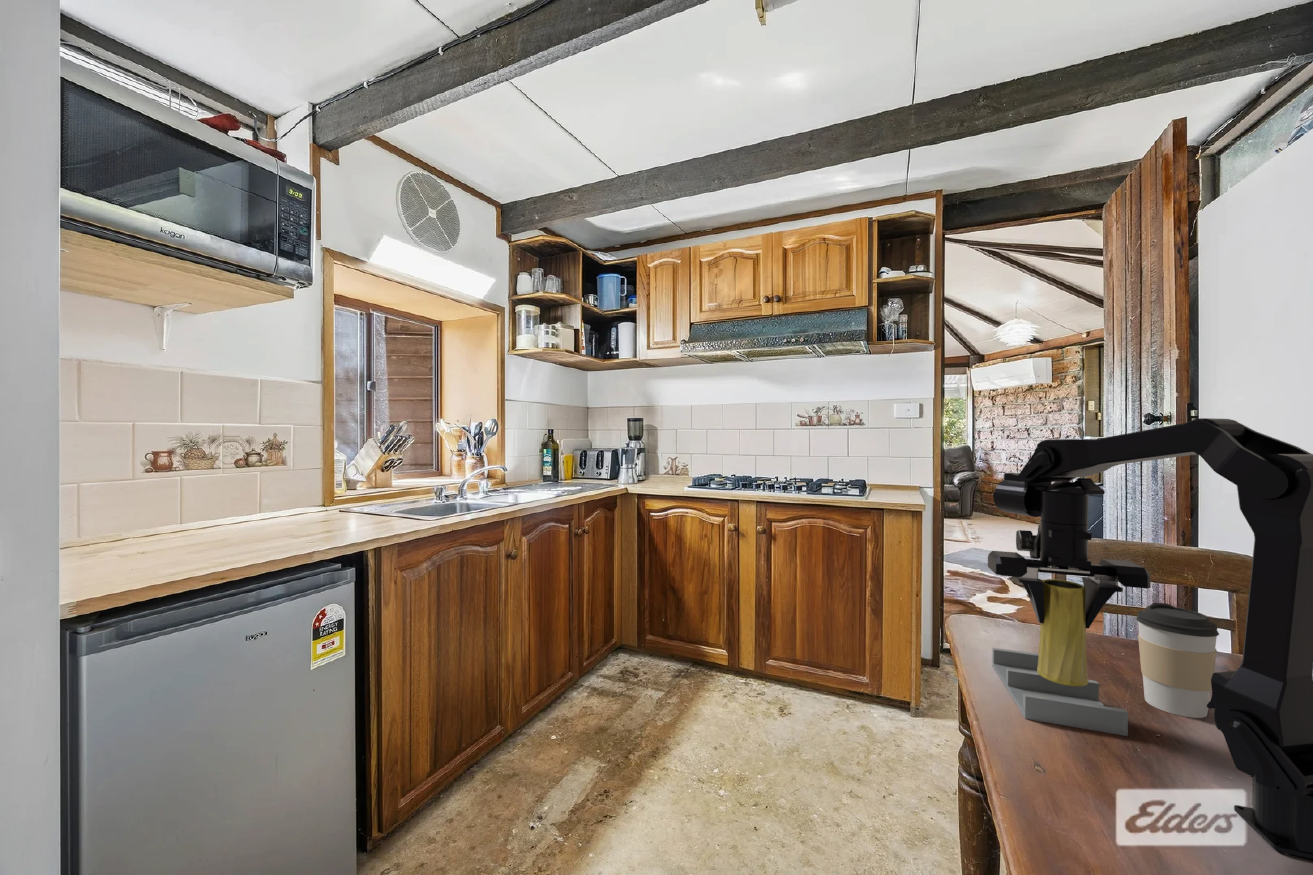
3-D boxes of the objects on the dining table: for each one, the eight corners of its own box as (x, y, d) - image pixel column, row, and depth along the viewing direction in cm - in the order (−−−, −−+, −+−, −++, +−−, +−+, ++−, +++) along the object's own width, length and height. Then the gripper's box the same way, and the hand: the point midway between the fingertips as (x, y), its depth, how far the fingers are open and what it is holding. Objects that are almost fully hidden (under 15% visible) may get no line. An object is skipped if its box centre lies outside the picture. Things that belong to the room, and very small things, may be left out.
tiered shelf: (1127, 735, 72) (1128, 712, 72) (1025, 718, 76) (1025, 696, 76) (1072, 677, 90) (1073, 658, 90) (992, 665, 94) (992, 647, 94)
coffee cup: (1236, 725, 75) (1237, 621, 75) (1162, 718, 77) (1163, 616, 77) (1186, 695, 84) (1187, 602, 84) (1121, 689, 86) (1122, 598, 86)
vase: (1028, 672, 80) (1029, 580, 80) (1051, 665, 83) (1052, 576, 83) (1073, 690, 74) (1074, 591, 74) (1096, 682, 77) (1098, 586, 77)
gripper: (1115, 518, 83) (1113, 616, 83) (980, 511, 89) (979, 601, 89) (1153, 530, 72) (1152, 641, 72) (997, 521, 79) (996, 623, 79)
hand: (1062, 624), depth 79 cm, fingers closed on vase, 5 cm apart
